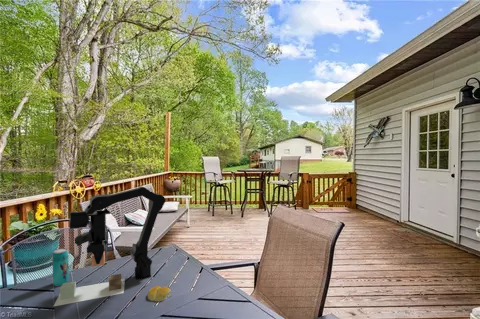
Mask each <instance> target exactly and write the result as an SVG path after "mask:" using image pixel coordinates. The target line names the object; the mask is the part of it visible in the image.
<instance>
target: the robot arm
mask: <svg viewBox="0 0 480 319" xmlns="http://www.w3.org/2000/svg"><path fill="white" fill-rule="evenodd" d="M138 197H144V198H145V199H147V200H148V203H147V204H148V211H147V214H146V217H145V221H144V223H143V227H142V230H141V232H140V235H139V239H138V240H137V242H136V243H132V247H131V249H130V250H129V253H130V256H131V259H132V260H133V261H134V263H135V267H134V279H135V280H137V281H140V280H143V279H144V280H145V279H151V278H152V270H151V269H152V263H153V260H152V259H151V258H150V257H149V256H148V253H149V242H150V238H151V235H152V232H153V229H154V226H155V224H156V220H157V217H158V214H159V213H160V212H161V210H162V209H163V207H164V205H165V203H166V198H165V196H164V195H163V194H160V193H155V192H153V191H151V190H149V189H148V188H147V187H145V186H139V187H136V188H131V189H129V190H124V191H120V192H116V193H110V194H109V193H108V194H97V195H93V196H91V198H90V200H89V204H88V205H87V207H86V208H85V209H84V210H82V211H69V220H68V221H69V230H75V229H81V228H87V226H88V225H90V229H89V230H88V231H86V232H84V233H82V234H79V235H77V236H75V237H74V240H73V241H74V244H76V247H79V246H81V245H84V244H85V243H87V242H88V243H89V244H87V247H86V253H87V254H91V253H92V254H93V255H94V258H95V261H96V264H99V263H100V261H101V258H102V256H103V253H104V251H105V250H106V246H107V244H108V241H109V233H108V232H107V219H106V218H107V217H106V216H107V215H110V214H112V212H111V211H110V210H109V209H108V208H109V207H111V206H112V205H114V204H117V203H120V202H124V201H128V200H131V199H135V198H138ZM105 252H106V251H105Z"/></svg>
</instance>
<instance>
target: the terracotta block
mask: <svg viewBox="0 0 480 319" xmlns="http://www.w3.org/2000/svg"><path fill="white" fill-rule="evenodd" d="M105 263H106V251H104V253H103V256H102V258H101V261H100V263H99V264H96V261H95V258H94V255H93V253H92V254H91V268H93V267H101V266H105Z"/></svg>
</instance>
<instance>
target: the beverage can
mask: <svg viewBox="0 0 480 319" xmlns="http://www.w3.org/2000/svg"><path fill="white" fill-rule="evenodd" d="M52 253H53V254H52V284H53V285H54V286H55V287H58V286H60V287H61V286H62V284H63V283H68V282H69V280H70V279H69V278H70V277H69V274H70V273H69V272H70V271H69V269H70V268H69V267H70V266H69V251H68V248H58V249H56V250H54V251H53V252H52Z"/></svg>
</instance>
